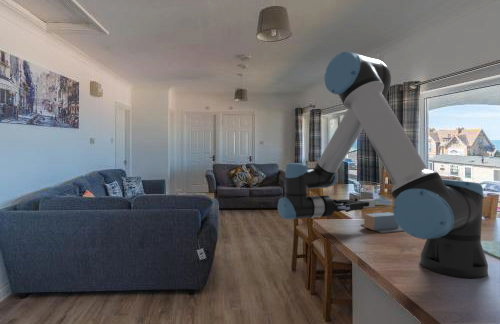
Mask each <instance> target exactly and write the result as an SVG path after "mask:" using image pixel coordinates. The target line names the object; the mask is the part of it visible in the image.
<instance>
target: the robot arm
mask: <svg viewBox="0 0 500 324" xmlns="http://www.w3.org/2000/svg"><path fill="white" fill-rule="evenodd" d="M390 71H391V70H390V69H389V67H388V65H386V63H384V62H383V61H382V60H380V59H377V58H372V57H370V56H369V57H368V56H366V55H362V54H358V52H352V51H351V52H350V51H343V52H339V53H337V54H336V55H335V56H334V57H333V58H332V59H331V60H330V61H329V63H328V64H327V67H326V69H325V73H324V85H325V87H326V89H327V91H329V93H331V94H333V95H338V97H339V98H340V100H341V102H342V104H343V106H344V108H345V109H347V110H346V112H345V113H344V114H343V117H342V119H341V120H340V123H339V124H338V125H337V127H336V129H335V130H334V132H333V134H332V137H331V138H330V139H329V142H328V143H327V145H326V147H325V148H324V150H323V152H322V154H321V156H320V158H319V159H318V161H317V163H316V164H315V166H314V167H309V166H308V164H307V163H305V162H290V163H289V162H288V163H287V164H286V167H285V174H284V178H285V193H284V197H281V198H279V200H278V202H277V212H278V214H279V215H278V216H279V217H280V218H282V220H283V219H284V220H296V219H298V220H299V219H312V220H314V219H315V218H320V217H322V218H325V217H332V216H333V215H334V213H335V212H344V211H345V212H346V213H349V212H353V211H358V210H359V211H363V210H364V208H375V207H376V205H375V204H376V199H374V198H372V199H371V198H369V199H358V198H357V197H354V199H351V198H350V199H336V198H335V199H333V198H332V197H331V196H330V195H311V196H309V195H308V190H314V189H323V188H325V189H326V188H329V187H333V186H334V185H335V184H336V183H337V182H338V173H337V171H338V170H339V168H341V167H340V166H341V165H342V163H343V162H344V160H345V158H346V157H347V156H348V154H349V152H350V150H351V149H352V147H353V146H354V144H355V143H356V141H357V139H358V138H359V136H360V134H361V132H362V131H363V130H364V133H365V134H366V136H367V139H368V141H370V144H371V145H372V148H373V150H374V151H375V153H376V154H377V157H378V158H379V160H380V162H381V164H382V166H383V168H384V170H385V171H386V173H387V175H388V177H389V179H390V181H391V183H392V184H393V186H392V188H391V191H390V194H391V196H392V198H393V200H394V202H393V208H392V213H393V214H394V217H395V220H396V222H397V223H398V225H399V226H400V227H401V228H402V229H403V230H404V231H403V232H405V233H406V234H407V235H410V236H412V237H414V238H417V239H422V240H425V243H424V245H423V248H422V250H421V252H420V262H419V263H420V264H421V265H422V266H423V267H425V268H426V269H428V270H430V271H433V272H435V273H439V274H442V275H446V276H451V277H455V278H465V279H466V278H467V279H478V278H479V279H480V278H484V277H486V276H487V275H488V274H489V272H488V271H489V263H488V261H487V257H486V254H485V252H484V249H483V245H482V242H481V241H482V223H483V222H482V221H483V202H484V198H485V195H484V188H483V186H482V185H481V184H480V183H479V182H473V181H464V180H455V179H445V178H442V177H441V175H440V174H439V172H437V171H436V170H435V171H434V170H432V169H429V168H428V167H427V166H426V164H425V163H424V161H423V159H422V157H421V155H420V154H419V152H418V151H417V149H416V147H415V146H414V144H413V142H412V141H411V139H410V137H409V136H408V134H407V132H406V131H405V129H404V128H403V126H402V124H401V123H400V121H399V119H398V117H397V116H396V114H395V111H393V109H392V108H391V106H390V104H389V102H388V100H387V99H386V98H387V95H388V93H389V90H390V87H391V83H392V76H391V72H390Z"/></svg>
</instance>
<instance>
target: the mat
mask: <svg viewBox="0 0 500 324" xmlns="http://www.w3.org/2000/svg"><path fill="white" fill-rule="evenodd" d="M360 226H362V227H363V226H364V224H363V223H362V224H361V223H360ZM373 231H374V232H377V233H380V234H388V233H389V234H390V233H397V232H399V233H400V232H405V231H404V230H403V229H402V228H401V227H400V226H399V228H390V229H379V230H373Z"/></svg>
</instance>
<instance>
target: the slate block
mask: <svg viewBox="0 0 500 324" xmlns="http://www.w3.org/2000/svg"><path fill="white" fill-rule="evenodd" d="M363 220H364V228H367V229H369V230H372V231H374V230H379V229H390V228H399V225H398V223H397V222H396V220H395V217H394V214H393V212H391V211H389V212H388V211H387V212H375V213H364V219H363Z"/></svg>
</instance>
